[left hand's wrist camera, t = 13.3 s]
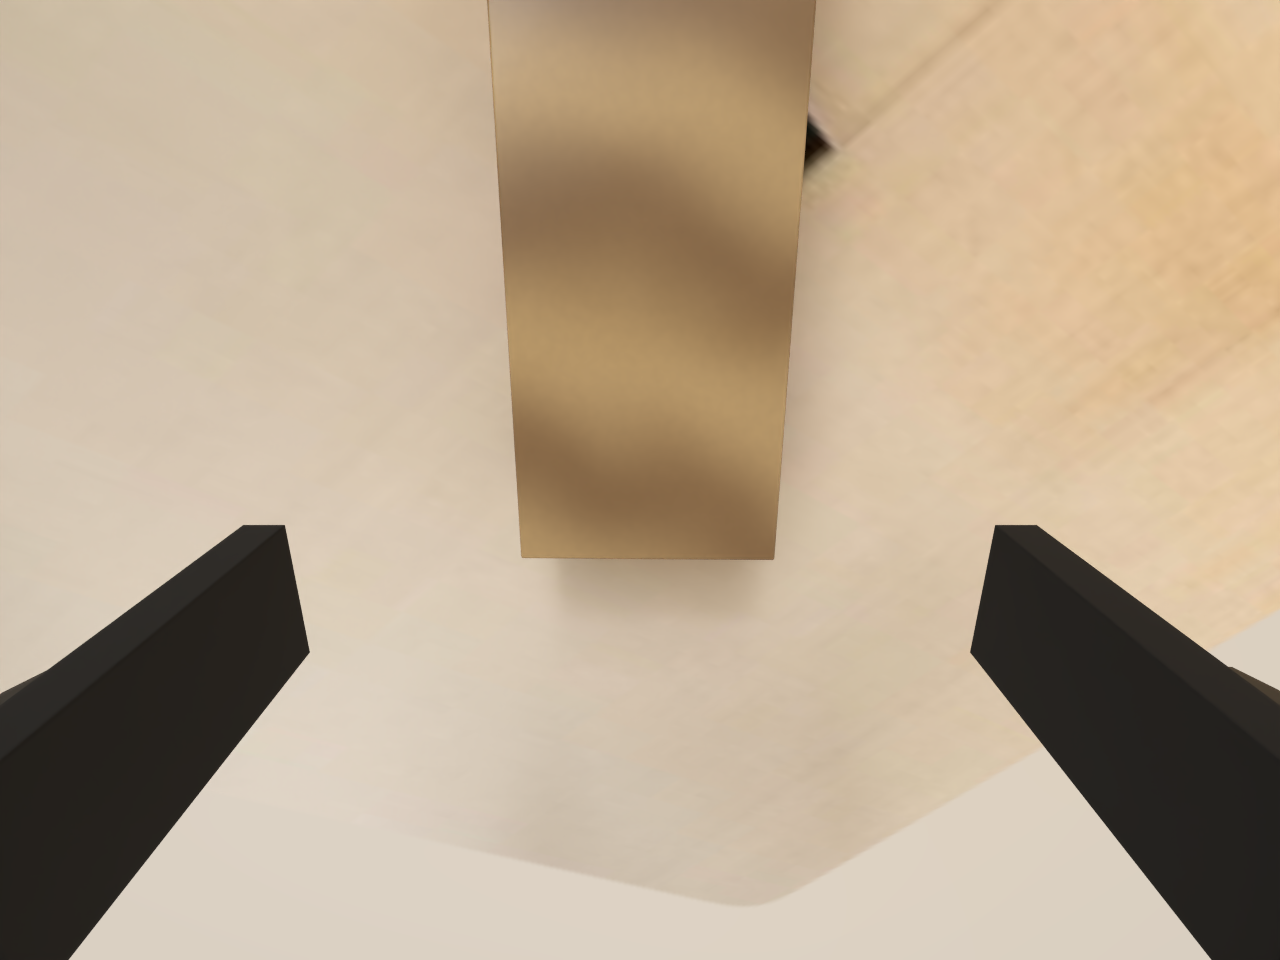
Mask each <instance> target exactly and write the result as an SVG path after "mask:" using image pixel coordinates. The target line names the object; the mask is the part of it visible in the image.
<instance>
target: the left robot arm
mask: <svg viewBox="0 0 1280 960" xmlns="http://www.w3.org/2000/svg"><path fill="white" fill-rule="evenodd" d="M309 653H310V651H309V646H308V641H307V636H306V631H305V626H304V621H303V615H302V610H301V605H300V600H299V595H298V590H297V585H296V580H295V575H294V570H293V565H292V559H291V554H290V549H289V544H288V539H287V534H286V529H285V525H243V526H242V527H240V528H239V529H238V530H236V531H235V532H233V533H232V534H231V535H229V536H228V537H227V538H225V539H224V540H223V541H221V542H220V543H219V544H217V545H216V546H215V547H213V548H212V549H210V550H209V551H208V552H206V553H205V554H204V555H202V556H201V557H200V558H198V559H197V560H196V561H194V562H193V563H192V564H190V565H189V566H188V567H186V568H185V569H183V570H182V571H181V572H179V573H178V574H177V575H175V576H174V577H173V578H171V579H170V580H169V581H167V582H166V583H165V584H163V585H162V586H161V587H159V588H158V589H156V590H155V591H154V592H152V593H151V594H150V595H148V596H147V597H146V598H144V599H143V600H142V601H140V602H139V603H138V604H136V605H135V606H134V607H132V608H131V609H129V610H128V611H127V612H125V613H124V614H123V615H121V616H120V617H119V618H117V619H116V620H115V621H113V622H112V623H111V624H109V625H108V626H107V627H105V628H104V629H102V630H101V631H100V632H98V633H97V634H96V635H94V636H93V637H92V638H90V639H89V640H88V641H86V642H85V643H84V644H82V645H81V646H80V647H78V648H77V649H75V650H74V651H73V652H71V653H70V654H69V655H67V656H66V657H65V658H63V659H62V660H61V661H59V662H58V663H57V664H55V665H54V666H52V667H51V668H50V669H48V670H47V671H45V672H43V673H41V674H39V675H37V676H35V677H33V678H31V679H29V680H27V681H25V682H23V683H21V684H19V685H17V686H15V687H13V688H11V689H9V690H7V691H5V692H3V693H1V694H0V960H69V958H70V957H71V956H72V955H73V953H74V952H75V951H76V949H77V948H78V947H79V946H80V944H81V943H82V942H83V941H84V939H85V938H86V937H87V935H88V934H89V933H90V932H91V930H92V929H93V928H94V927H95V925H96V924H97V923H98V921H99V920H100V919H101V918H102V916H103V915H104V914H105V913H106V911H107V910H108V909H109V907H110V906H111V905H112V904H113V902H114V901H115V900H116V899H117V897H118V896H119V895H120V893H121V892H122V891H123V890H124V888H125V887H126V886H127V885H128V883H129V882H130V881H131V879H132V878H133V877H134V876H135V874H136V873H137V872H138V871H139V869H140V868H141V867H142V865H143V864H144V863H145V862H146V860H147V859H148V858H149V857H150V855H151V854H152V853H153V851H154V850H155V849H156V847H157V846H158V845H159V844H160V842H161V841H162V840H163V839H164V837H165V836H166V835H167V833H168V832H169V831H170V830H171V828H172V827H173V826H174V825H175V823H176V822H177V821H178V819H179V818H180V817H181V816H182V814H183V813H184V812H185V811H186V809H187V808H188V807H189V806H190V804H191V803H192V802H193V800H194V799H195V798H196V797H197V795H198V794H199V793H200V792H201V790H202V789H203V788H204V786H205V785H206V784H207V783H208V781H209V780H210V779H211V778H212V776H213V775H214V774H215V772H216V771H217V770H218V769H219V767H220V766H221V765H222V763H223V762H224V761H225V760H226V758H227V757H228V756H229V755H230V753H231V752H232V751H233V749H234V748H235V747H236V746H237V744H238V743H239V742H240V741H241V739H242V738H243V737H244V735H245V734H246V733H247V732H248V730H249V729H250V728H251V727H252V725H253V724H254V723H255V721H256V720H257V719H258V718H259V716H260V715H261V714H262V713H263V711H264V710H265V709H266V707H267V706H268V705H269V704H270V702H271V701H272V700H273V698H274V697H275V696H276V695H277V693H278V692H279V691H280V690H281V688H282V687H283V686H284V684H285V683H286V682H287V681H288V679H289V678H290V677H291V676H292V674H293V673H294V672H295V670H296V669H297V668H298V667H299V665H300V664H301V663H302V662H303V660H304V659H305V658H306V656H307V655H308V654H309ZM970 653H971V654H972V655H973V656H974V658H975V659H976V660H977V662H978V663H979V664H980V665H981V667H982V668H983V669H984V670H985V672H986V673H987V674H988V676H989V677H990V678H991V679H992V681H993V682H994V683H995V684H996V686H997V687H998V688H999V690H1000V691H1001V692H1002V693H1003V695H1004V696H1005V697H1006V698H1007V700H1008V701H1009V702H1010V704H1011V705H1012V706H1013V707H1014V709H1015V710H1016V711H1017V713H1018V714H1019V715H1020V716H1021V718H1022V719H1023V720H1024V721H1025V723H1026V724H1027V725H1028V727H1029V728H1030V729H1031V730H1032V732H1033V733H1034V734H1035V735H1036V737H1037V738H1038V739H1039V741H1040V742H1041V743H1042V744H1043V746H1044V747H1045V748H1046V749H1047V751H1048V752H1049V753H1050V755H1051V756H1052V757H1053V758H1054V760H1055V761H1056V762H1057V763H1058V765H1059V766H1060V767H1061V769H1062V770H1063V771H1064V772H1065V774H1066V775H1067V776H1068V777H1069V779H1070V780H1071V781H1072V783H1073V784H1074V785H1075V786H1076V788H1077V789H1078V790H1079V791H1080V793H1081V794H1082V795H1083V797H1084V798H1085V799H1086V800H1087V802H1088V803H1089V804H1090V806H1091V807H1092V808H1093V809H1094V811H1095V812H1096V813H1097V814H1098V816H1099V817H1100V818H1101V820H1102V821H1103V822H1104V823H1105V825H1106V826H1107V827H1108V828H1109V830H1110V831H1111V832H1112V834H1113V835H1114V836H1115V837H1116V839H1117V840H1118V841H1119V842H1120V844H1121V845H1122V846H1123V848H1124V849H1125V850H1126V851H1127V853H1128V854H1129V855H1130V857H1131V858H1132V859H1133V860H1134V861H1135V863H1136V864H1137V865H1138V867H1139V868H1140V869H1141V870H1142V872H1143V873H1144V874H1145V876H1146V877H1147V878H1148V879H1149V881H1150V882H1151V883H1152V884H1153V886H1154V887H1155V888H1156V890H1157V891H1158V892H1159V893H1160V895H1161V896H1162V897H1163V899H1164V900H1165V901H1166V902H1167V904H1168V905H1169V906H1170V907H1171V909H1172V910H1173V911H1174V912H1175V914H1176V915H1177V916H1178V918H1179V919H1180V920H1181V921H1182V923H1183V924H1184V925H1185V927H1186V928H1187V929H1188V930H1189V932H1190V933H1191V934H1192V935H1193V937H1194V938H1195V939H1196V941H1197V942H1198V943H1199V944H1200V946H1201V947H1202V948H1203V949H1204V951H1205V952H1206V953H1207V955H1208V956H1209V957H1210V958H1211V960H1280V691H1279V690H1277V689H1275V688H1273V687H1271V686H1269V685H1267V684H1265V683H1263V682H1261V681H1259V680H1257V679H1255V678H1253V677H1251V676H1249V675H1247V674H1245V673H1243V672H1241V671H1239V670H1237V669H1235V668H1233V667H1228V666H1226V665H1225V664H1223V663H1222V662H1221V661H1219V660H1218V659H1217V658H1215V657H1214V656H1213V655H1211V654H1210V653H1209V652H1207V651H1206V650H1205V649H1203V648H1202V647H1200V646H1199V645H1198V644H1196V643H1195V642H1194V641H1192V640H1191V639H1190V638H1188V637H1187V636H1186V635H1184V634H1183V633H1182V632H1180V631H1179V630H1178V629H1176V628H1175V627H1173V626H1172V625H1171V624H1169V623H1168V622H1167V621H1165V620H1164V619H1163V618H1161V617H1160V616H1159V615H1157V614H1156V613H1155V612H1153V611H1152V610H1151V609H1149V608H1148V607H1146V606H1145V605H1144V604H1142V603H1141V602H1140V601H1138V600H1137V599H1136V598H1134V597H1133V596H1132V595H1130V594H1129V593H1128V592H1126V591H1125V590H1124V589H1122V588H1121V587H1119V586H1118V585H1117V584H1115V583H1114V582H1113V581H1111V580H1110V579H1109V578H1107V577H1106V576H1105V575H1103V574H1102V573H1101V572H1099V571H1098V570H1097V569H1095V568H1094V567H1092V566H1091V565H1090V564H1088V563H1087V562H1086V561H1084V560H1083V559H1082V558H1080V557H1079V556H1078V555H1076V554H1075V553H1074V552H1072V551H1071V550H1069V549H1068V548H1067V547H1065V546H1064V545H1063V544H1061V543H1060V542H1059V541H1057V540H1056V539H1055V538H1053V537H1052V536H1051V535H1049V534H1048V533H1047V532H1045V531H1044V530H1042V529H1041V528H1040V527H1038V526H1037V525H995V529H994V534H993V539H992V544H991V549H990V554H989V559H988V565H987V570H986V575H985V580H984V585H983V590H982V595H981V600H980V605H979V610H978V615H977V620H976V626H975V631H974V636H973V641H972V646H971V651H970Z"/></svg>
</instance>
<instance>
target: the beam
mask: <svg viewBox="0 0 1280 960" xmlns="http://www.w3.org/2000/svg"><path fill="white" fill-rule="evenodd" d="M487 5H488V22H489V38H490V54H491V70H492V87H493V103H494V119H495V136H496V152H497V168H498V184H499V201H500V217H501V233H502V250H503V266H504V282H505V298H506V315H507V331H508V347H509V364H510V380H511V396H512V412H513V429H514V445H515V461H516V478H517V494H518V510H519V526H520V543H521V556H522V558H602V559H734V560H773V559H774V554H775V541H776V528H777V514H778V501H779V488H780V474H781V461H782V448H783V434H784V421H785V408H786V394H787V381H788V368H789V354H790V341H791V328H792V315H793V301H794V288H795V275H796V261H797V248H798V235H799V221H800V208H801V195H802V181H803V168H804V155H805V141H806V128H807V115H808V102H809V88H810V75H811V62H812V48H813V35H814V22H815V8H816V0H487Z"/></svg>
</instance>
